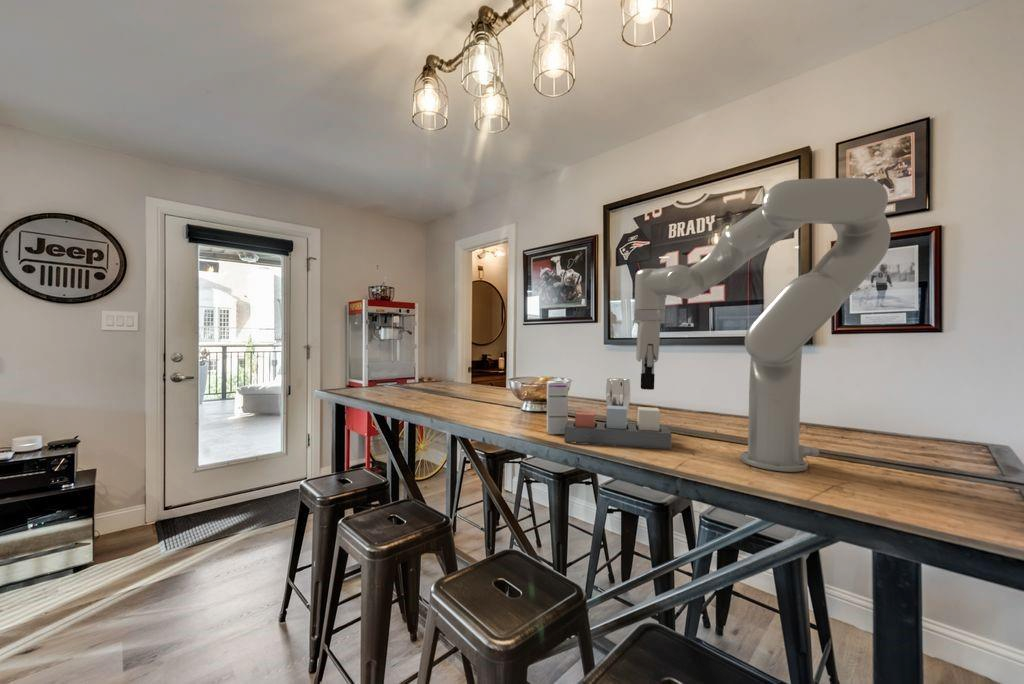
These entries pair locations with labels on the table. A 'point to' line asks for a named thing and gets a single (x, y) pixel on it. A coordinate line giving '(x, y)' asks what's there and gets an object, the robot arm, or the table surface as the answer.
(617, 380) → the beer glass
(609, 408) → the grey cube
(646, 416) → the key ivory
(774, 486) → the table surface
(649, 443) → the grey slotted holder
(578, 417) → the key red
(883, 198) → the robot arm
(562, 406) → the syrup box
